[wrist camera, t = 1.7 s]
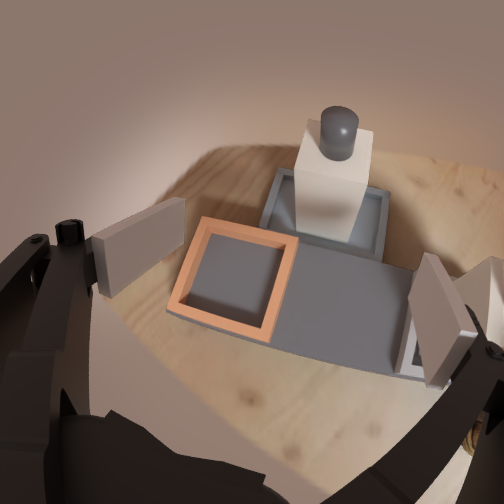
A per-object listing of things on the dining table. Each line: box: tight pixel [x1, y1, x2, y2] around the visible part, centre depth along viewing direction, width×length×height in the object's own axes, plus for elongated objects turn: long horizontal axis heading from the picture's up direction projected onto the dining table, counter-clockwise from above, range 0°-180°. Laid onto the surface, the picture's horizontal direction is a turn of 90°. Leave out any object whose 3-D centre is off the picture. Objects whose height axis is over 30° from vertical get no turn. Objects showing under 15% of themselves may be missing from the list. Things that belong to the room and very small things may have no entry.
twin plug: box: [418, 256, 504, 356], centre depth 15 cm, size 5×5×13 cm
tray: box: [258, 167, 390, 263], centre depth 29 cm, size 12×8×1 cm, turn 73°
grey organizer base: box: [166, 216, 458, 386], centre depth 24 cm, size 29×9×4 cm, turn 73°
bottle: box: [294, 106, 373, 244], centre depth 23 cm, size 5×5×13 cm
